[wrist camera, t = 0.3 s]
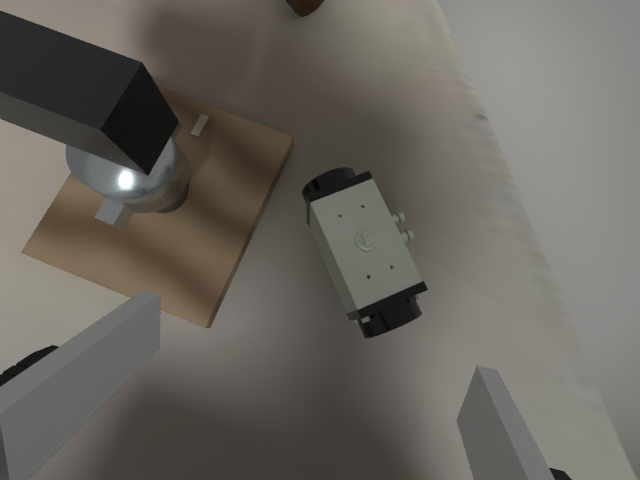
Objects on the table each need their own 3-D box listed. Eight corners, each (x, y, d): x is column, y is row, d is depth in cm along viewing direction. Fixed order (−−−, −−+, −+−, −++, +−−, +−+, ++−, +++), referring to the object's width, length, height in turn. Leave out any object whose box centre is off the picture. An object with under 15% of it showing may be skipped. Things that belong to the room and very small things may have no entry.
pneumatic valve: (349, 336, 31) (375, 342, 20) (301, 223, 34) (298, 169, 22) (403, 312, 32) (458, 304, 21) (352, 203, 35) (374, 140, 23)
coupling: (172, 250, 27) (63, 188, 15) (61, 205, 28) (-133, 111, 16) (227, 143, 30) (171, 15, 18) (123, 104, 30) (-1, -47, 18)
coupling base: (210, 327, 31) (192, 328, 26) (33, 256, 32) (-15, 243, 27) (293, 143, 36) (291, 115, 31) (138, 86, 37) (112, 49, 32)
